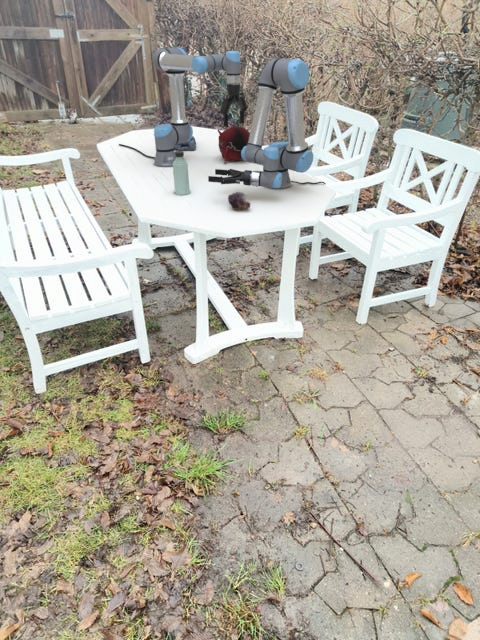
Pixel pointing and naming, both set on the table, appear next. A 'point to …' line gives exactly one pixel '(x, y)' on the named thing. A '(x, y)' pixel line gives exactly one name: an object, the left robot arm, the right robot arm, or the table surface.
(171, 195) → the table surface
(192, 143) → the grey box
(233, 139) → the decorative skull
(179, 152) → the cap
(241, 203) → the rock
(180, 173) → the bottle
